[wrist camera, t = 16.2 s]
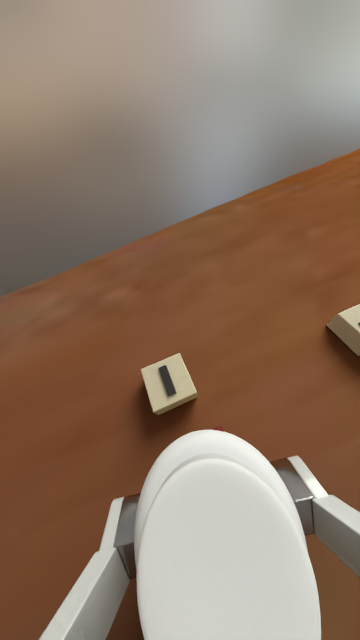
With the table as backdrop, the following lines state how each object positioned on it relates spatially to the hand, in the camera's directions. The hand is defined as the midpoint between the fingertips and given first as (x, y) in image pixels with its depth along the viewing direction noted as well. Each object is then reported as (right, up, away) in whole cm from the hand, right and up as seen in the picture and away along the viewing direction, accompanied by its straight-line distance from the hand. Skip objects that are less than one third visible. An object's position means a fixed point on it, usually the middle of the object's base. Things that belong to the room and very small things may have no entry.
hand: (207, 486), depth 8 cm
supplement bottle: (+1, -3, +4) cm, 6 cm away
